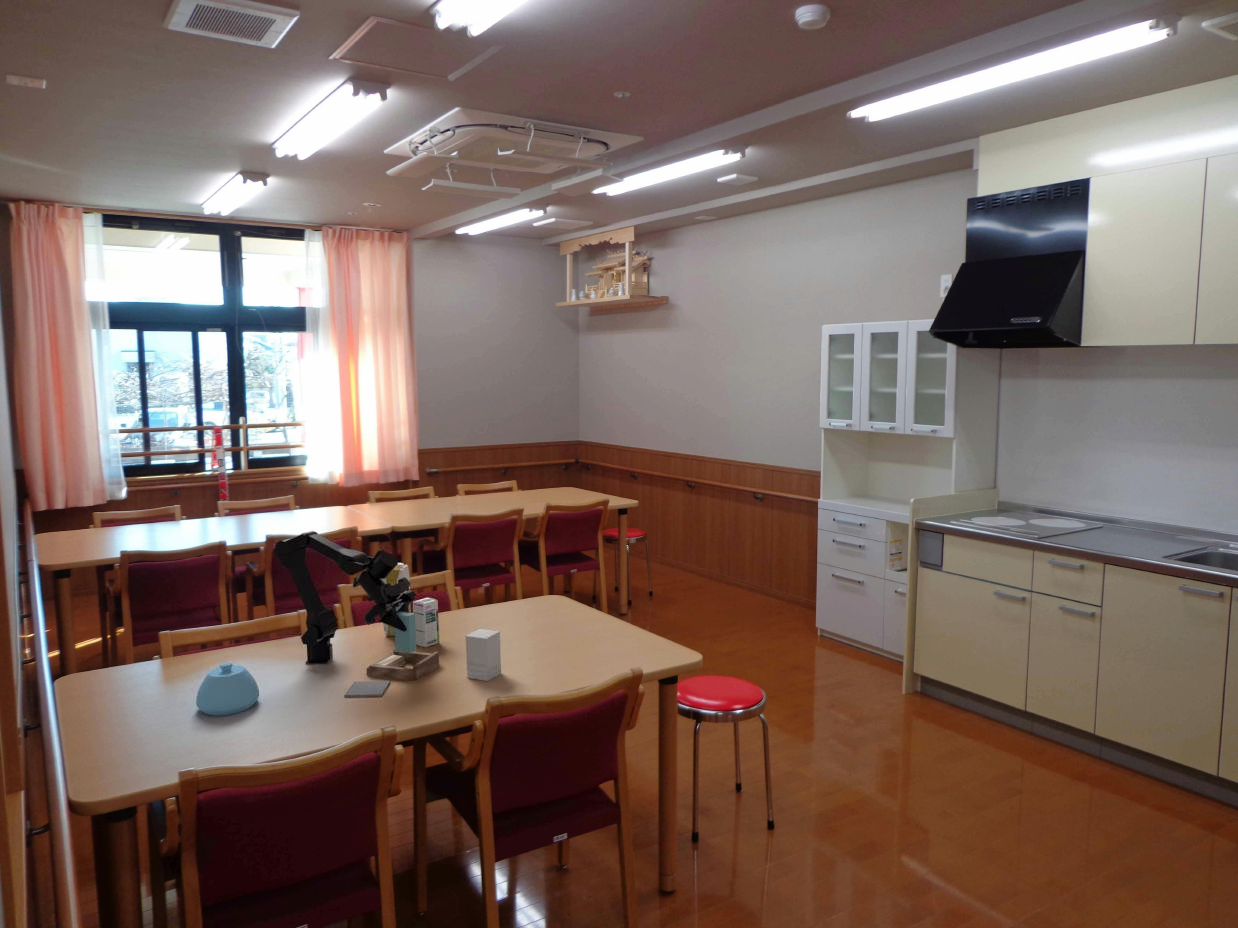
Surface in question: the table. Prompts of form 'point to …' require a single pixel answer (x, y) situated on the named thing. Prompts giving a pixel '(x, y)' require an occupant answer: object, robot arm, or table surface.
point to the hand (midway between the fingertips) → (409, 628)
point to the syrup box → (426, 621)
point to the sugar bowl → (227, 691)
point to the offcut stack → (392, 661)
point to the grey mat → (367, 689)
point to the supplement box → (483, 654)
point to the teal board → (406, 633)
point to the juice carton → (393, 578)
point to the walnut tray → (421, 668)
